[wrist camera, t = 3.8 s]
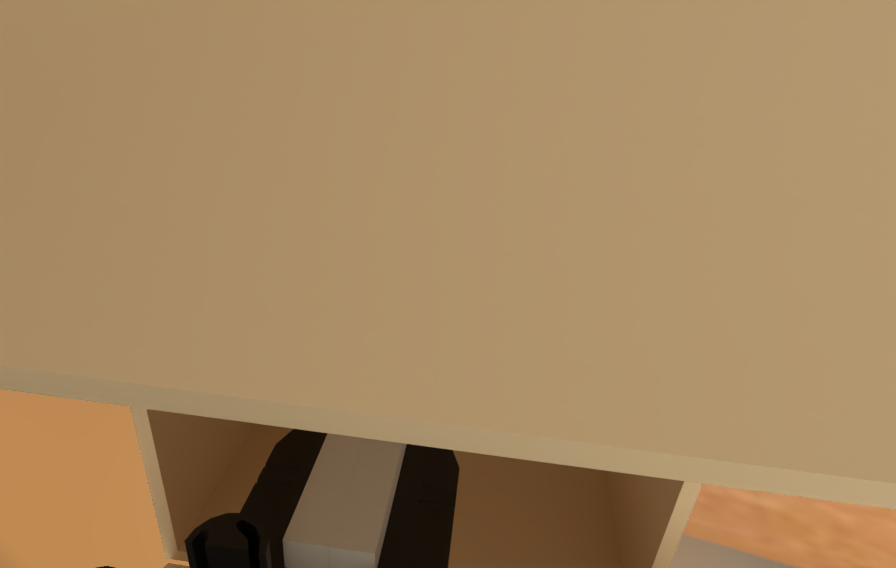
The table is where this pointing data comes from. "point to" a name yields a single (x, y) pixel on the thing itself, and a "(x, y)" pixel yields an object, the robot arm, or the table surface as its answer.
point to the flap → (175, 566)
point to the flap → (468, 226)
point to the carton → (476, 509)
